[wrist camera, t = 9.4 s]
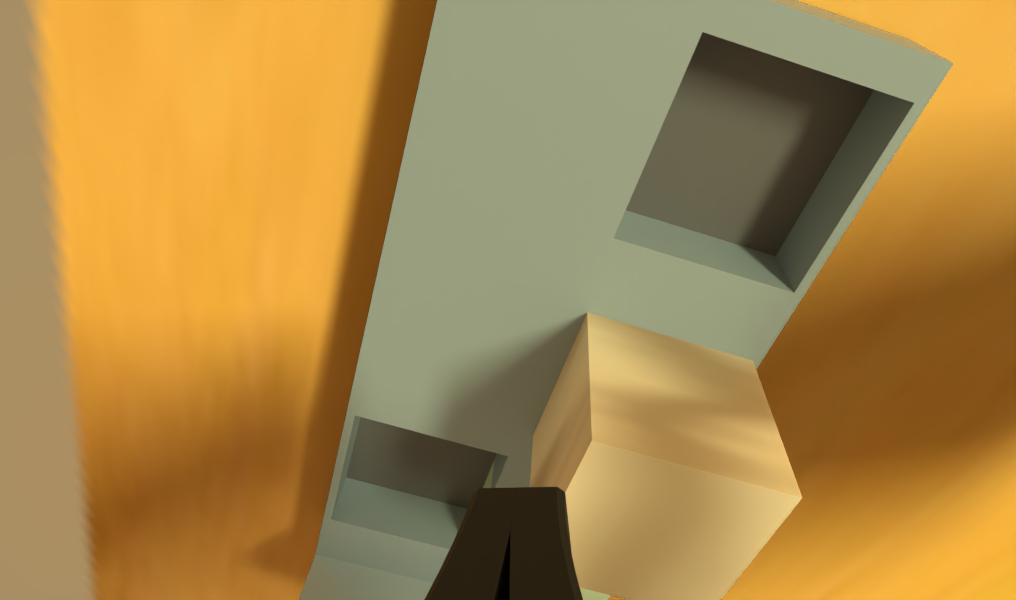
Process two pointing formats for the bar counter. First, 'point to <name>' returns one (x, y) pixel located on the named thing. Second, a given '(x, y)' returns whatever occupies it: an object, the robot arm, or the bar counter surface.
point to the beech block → (661, 463)
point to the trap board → (590, 230)
